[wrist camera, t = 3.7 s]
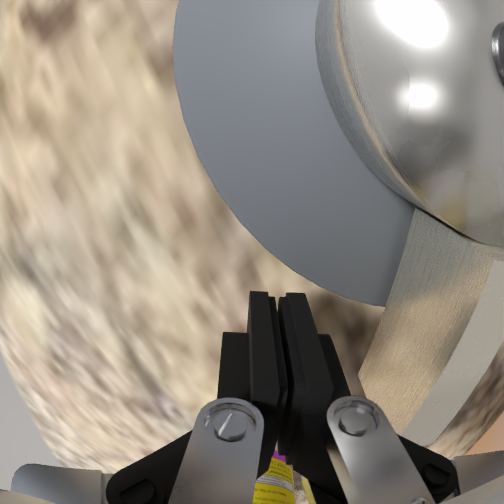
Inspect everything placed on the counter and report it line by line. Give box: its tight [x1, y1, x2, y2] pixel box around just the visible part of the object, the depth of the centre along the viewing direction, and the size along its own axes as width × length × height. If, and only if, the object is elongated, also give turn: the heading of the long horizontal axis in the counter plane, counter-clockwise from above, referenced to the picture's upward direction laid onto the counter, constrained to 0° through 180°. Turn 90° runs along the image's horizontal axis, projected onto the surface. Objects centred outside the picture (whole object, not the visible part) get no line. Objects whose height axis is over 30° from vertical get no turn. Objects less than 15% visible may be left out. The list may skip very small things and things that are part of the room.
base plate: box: [173, 0, 422, 307], centre depth 8 cm, size 18×18×2 cm
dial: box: [315, 0, 504, 446], centre depth 7 cm, size 17×10×4 cm, turn 173°
